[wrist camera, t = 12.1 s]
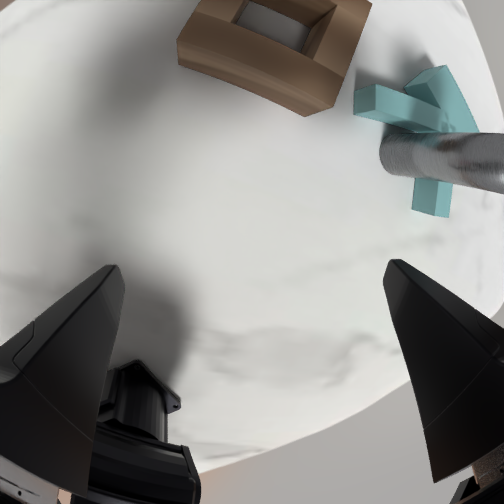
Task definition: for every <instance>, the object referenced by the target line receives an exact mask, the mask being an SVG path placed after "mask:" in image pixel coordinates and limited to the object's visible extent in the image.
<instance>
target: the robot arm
mask: <svg viewBox="0 0 504 504" xmlns="http://www.w3.org/2000/svg"><path fill="white" fill-rule="evenodd" d="M383 286H384V290H385V294H386V298H387V302H388V306H389V310H390V314H391V318H392V322H393V325H394V328H395V331H396V334H397V337H398V340H399V343H400V346H401V349H402V352H403V356H404V359H405V362H406V365H407V369H408V372H409V375H410V379H411V382H412V386H413V389H414V393H415V397H416V401H417V405H418V408H419V413H420V417H421V421H422V425H423V429H424V435H425V440H426V444H427V449H428V455H429V460H430V465H431V471H432V477H433V482H434V483H437V482H439V481H441V480H443V479H445V478H448V477H450V476H452V475H454V474H456V473H459V472H461V471H463V470H465V469H466V468H468V467H470V466H472V470H473V473H474V476H472V477H470V478H468V479H466V480H464V481H462V482H460V484H459V486H458V488H457V490H456V492H455V494H454V496H453V498H452V500H451V502H450V504H504V328H502V327H501V326H499V325H497V324H496V323H494V322H493V321H492V320H490V319H489V318H487V317H486V316H485V315H483V314H482V313H480V312H479V311H478V310H476V309H474V308H473V307H472V306H471V305H469V304H468V303H466V302H465V301H464V300H462V299H461V298H459V297H458V296H456V295H455V294H453V293H452V292H451V291H449V290H448V289H446V288H445V287H443V286H442V285H440V284H439V283H437V282H436V281H434V280H433V279H431V278H430V277H428V276H427V275H425V274H424V273H422V272H420V271H419V270H417V269H416V268H414V267H413V266H411V265H410V264H408V263H406V262H405V261H403V260H402V259H391V260H390V261H389V262H388V265H387V268H386V271H385V274H384V278H383ZM124 292H125V284H124V281H123V278H122V275H121V272H120V269H119V267H118V265H105V266H104V267H102V268H101V269H100V270H98V271H97V272H95V273H94V274H93V275H91V276H90V277H89V278H87V279H86V280H85V281H83V282H82V283H80V284H79V285H78V286H77V287H75V288H74V289H73V290H71V291H70V292H69V293H67V294H66V295H65V296H63V297H62V298H61V299H60V300H58V301H57V302H56V303H54V304H53V305H52V306H51V307H49V308H48V309H47V310H46V311H44V312H43V313H42V314H41V315H39V316H38V317H37V318H36V319H35V321H32V322H31V323H30V324H28V325H27V326H26V327H25V328H23V329H22V330H21V331H20V332H19V333H17V334H16V335H15V336H13V337H12V338H11V339H9V340H8V341H7V342H6V343H4V344H3V345H2V346H0V504H61V503H60V501H59V499H58V493H59V489H62V490H64V491H67V492H70V493H72V495H71V501H70V504H199V503H200V498H201V482H200V479H199V476H198V473H197V470H196V467H195V465H194V462H193V459H192V456H191V453H190V451H189V448H188V446H183V445H181V446H179V445H174V444H170V443H168V414H170V413H172V412H174V411H177V410H179V409H180V408H181V403H180V401H179V400H178V399H177V398H176V397H175V396H174V395H173V394H172V393H171V392H170V391H169V390H168V389H167V388H166V387H165V386H164V385H163V384H162V383H161V382H160V381H159V380H158V379H157V378H156V377H155V376H154V375H153V374H152V373H151V372H150V371H149V369H148V368H147V367H146V366H145V365H144V364H143V363H142V362H141V361H139V360H134V361H132V362H130V363H128V364H126V365H124V366H122V367H120V368H114V369H112V370H110V371H108V372H107V369H108V365H109V361H110V357H111V353H112V349H113V345H114V342H115V338H116V334H117V330H118V325H119V320H120V314H121V308H122V302H123V297H124ZM135 365H138V366H139V367H136V366H135Z"/></svg>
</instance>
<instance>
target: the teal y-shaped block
mask: <svg viewBox="0 0 504 504" xmlns="http://www.w3.org/2000/svg"><path fill="white" fill-rule="evenodd" d="M404 89H405V91H406V92H407V94H408V95H406V94H403V93H401V92H398V91H395V90H392V89H390V88H387V87H384V86H381V85H378V84H374V85H371V86H368V87H365V88H362V89H359V90H356V91H354V115H357V116H361V117H365V118H369V119H373V120H377V121H381V122H384V123H388V124H391V125H395V126H398V127H401V128H405V129H408V130H411V131H414V132H417V133H432V132H477V133H480V132H479V130H478V127H477V125H476V123H475V120H474V118H473V116H472V114H471V111H470V109H469V107H468V105H467V103H466V101H465V99H464V97H463V95H462V93H461V91H460V89H459V87H458V85H457V83H456V81H455V80H454V78H453V76H452V74H451V72H450V71H449V69H448V67H447V65H443V66H438V67H434V68H430V69H426V70H424V71H423V72H421V73H420V74H419V75H418V76H417V77H415V78H414V79H413V80H412V81H411V82H409V83H408V84H407V85H406V86H405V87H404ZM452 187H453V184H451V183H445V182H439V181H433V180H427V179H420V178H415V186H414V196H413V204H412V210H415V211H419V212H423V213H426V214H430V215H433V216H439V217H447V218H449V212H450V204H451V196H452Z"/></svg>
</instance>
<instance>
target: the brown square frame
mask: <svg viewBox="0 0 504 504" xmlns="http://www.w3.org/2000/svg"><path fill="white" fill-rule="evenodd" d="M249 1H253V2H255V3H258V4H260V5H263V6H265V7H267V8H270V9H272V10H274V11H277V12H279V13H281V14H283V15H285V16H288V17H290V18H292V19H294V20H296V21H298V22H300V23H302V24H304V25H306V26H308V27H310V28H312V29H311V31H310V33H309V35H308V37H307V39H306V41H305V43H304V45H303V48H302V50H301V52H300V53H299V52H297V51H295V50H293V49H291V48H289V47H287V46H284V45H282V44H280V43H278V42H276V41H274V40H272V39H269V38H267V37H265V36H262V35H260V34H258V33H255V32H253V31H251V30H248V29H246V28H243V27H240V26H238V25H235V24H236V22H237V20H238V19H239V17H240V15H241V14H242V12H243V10H244V9H245V7H246V5H247V4H248V2H249ZM371 7H372V3H371V2H369V1H368V0H201V1H200V3H199V4H198V6H197V7H196V9H195V10H194V12H193V13H192V15H191V17H190V18H189V20H188V21H187V23H186V25H185V26H184V28H183V30H182V31H181V33H180V35H179V36H178V38H177V52H178V65H181V66H184V67H187V68H190V69H193V70H196V71H198V72H201V73H204V74H207V75H210V76H212V77H215V78H218V79H220V80H223V81H226V82H228V83H231V84H233V85H236V86H238V87H240V88H243V89H245V90H248V91H250V92H252V93H255V94H257V95H259V96H261V97H264V98H266V99H268V100H270V101H272V102H275V103H277V104H279V105H281V106H283V107H285V108H287V109H289V110H291V111H293V112H295V113H297V114H299V115H301V116H303V117H306V116H309V115H312V114H315V113H318V112H320V111H323V110H326V109H329V108H332V107H333V106H334V104H335V101H336V98H337V96H338V93H339V91H340V88H341V86H342V83H343V81H344V78H345V75H346V73H347V70H348V68H349V65H350V62H351V60H352V57H353V55H354V52H355V49H356V47H357V44H358V41H359V39H360V36H361V33H362V31H363V28H364V25H365V23H366V20H367V17H368V15H369V12H370V9H371Z"/></svg>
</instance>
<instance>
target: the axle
mask: <svg viewBox="0 0 504 504" xmlns="http://www.w3.org/2000/svg"><path fill="white" fill-rule="evenodd" d="M380 160H381V163H382V165H383V167H384V168H385V170H386V171H387V172H389V173H390V174H392V175H398V176H406V177H413V178H420V179H427V180H433V181H439V182H445V183H451V184H456V185H462V186H467V187H472V188H477V189H482V190H487V191H491V192H496V193H500V194H504V134H501V133H477V132H432V133H405V134H391V135H388V136H387V137H385V138H384V140H383V141H382V143H381V146H380Z"/></svg>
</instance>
